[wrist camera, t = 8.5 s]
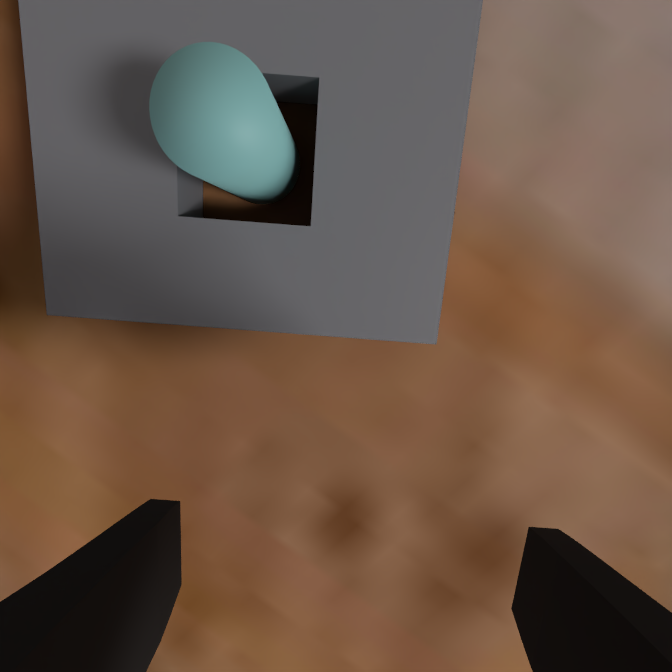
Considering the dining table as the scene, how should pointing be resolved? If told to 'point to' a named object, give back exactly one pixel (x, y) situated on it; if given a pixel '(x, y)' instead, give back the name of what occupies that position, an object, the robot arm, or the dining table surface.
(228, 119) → the peg
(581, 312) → the dining table surface
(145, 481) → the dining table surface
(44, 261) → the peg block
